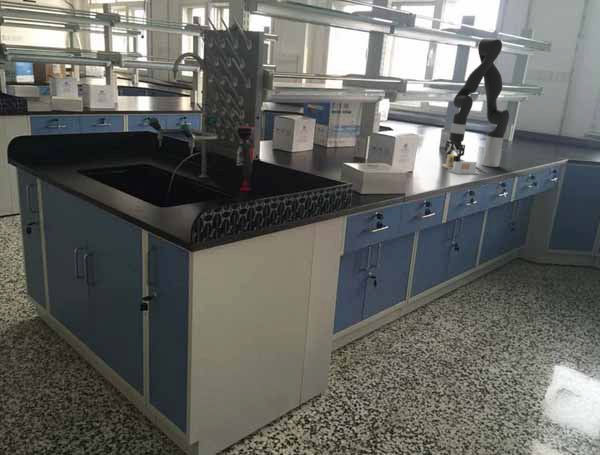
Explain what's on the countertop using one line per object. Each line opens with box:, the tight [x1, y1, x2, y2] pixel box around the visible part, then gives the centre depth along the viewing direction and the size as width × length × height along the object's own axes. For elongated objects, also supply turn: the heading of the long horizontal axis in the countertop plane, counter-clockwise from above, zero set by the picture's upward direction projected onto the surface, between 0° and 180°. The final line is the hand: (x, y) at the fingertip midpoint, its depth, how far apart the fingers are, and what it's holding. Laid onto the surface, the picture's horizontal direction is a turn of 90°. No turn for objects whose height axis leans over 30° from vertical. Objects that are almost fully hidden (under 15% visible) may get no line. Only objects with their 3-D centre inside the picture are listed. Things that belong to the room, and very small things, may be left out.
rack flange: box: [448, 160, 480, 175], centre depth 285 cm, size 14×8×6 cm, turn 111°
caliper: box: [460, 158, 490, 174], centre depth 296 cm, size 20×1×6 cm, turn 52°
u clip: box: [446, 153, 457, 164], centre depth 295 cm, size 4×6×4 cm
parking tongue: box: [441, 157, 453, 170], centre depth 296 cm, size 8×8×6 cm
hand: (452, 161), depth 295 cm, fingers open, 8 cm apart
